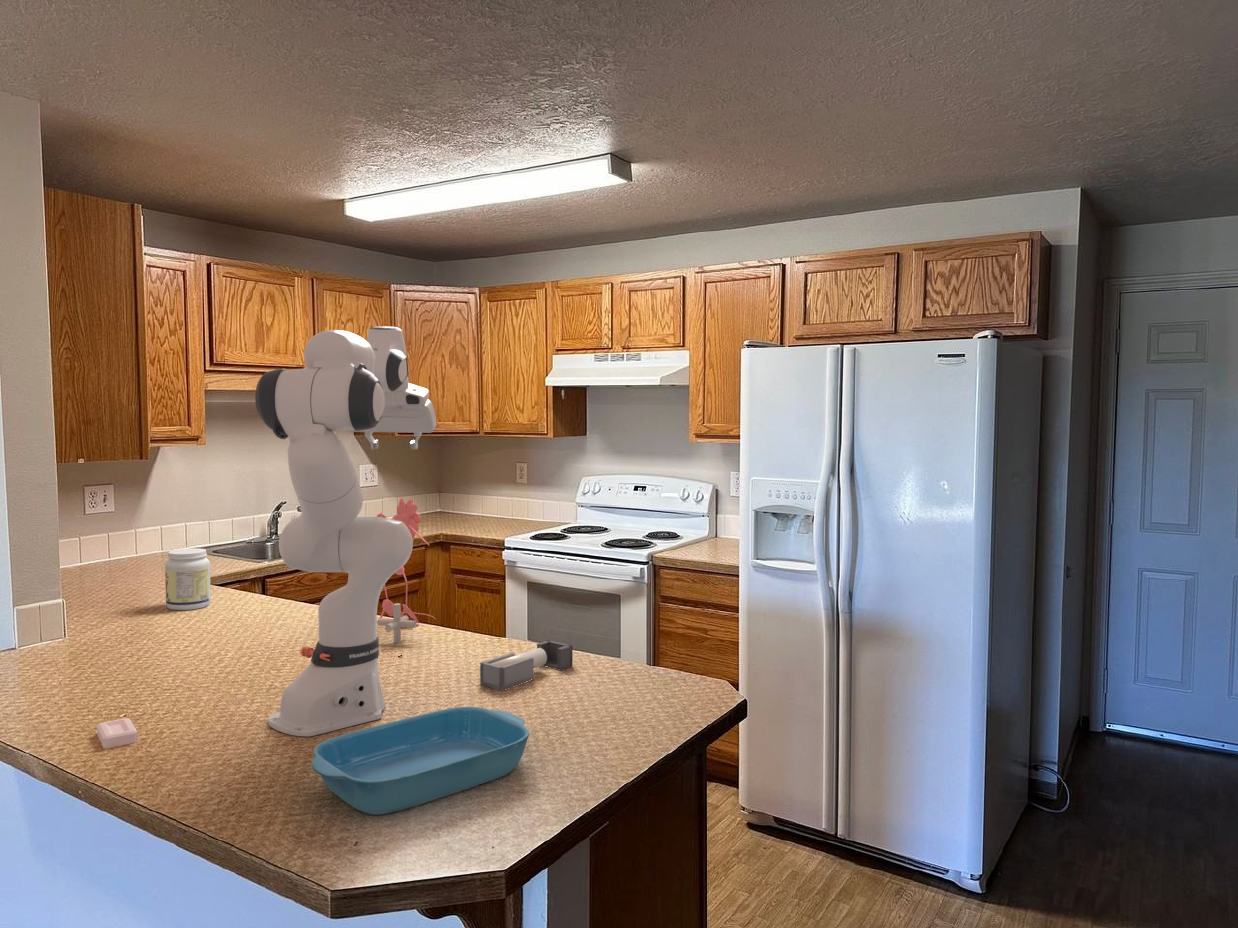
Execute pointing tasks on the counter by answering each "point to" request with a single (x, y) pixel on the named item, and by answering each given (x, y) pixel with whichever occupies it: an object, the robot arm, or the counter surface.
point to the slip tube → (537, 654)
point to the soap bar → (116, 733)
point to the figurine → (411, 520)
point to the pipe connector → (397, 623)
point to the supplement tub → (187, 579)
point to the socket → (557, 654)
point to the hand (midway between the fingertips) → (394, 448)
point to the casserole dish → (420, 757)
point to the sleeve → (506, 673)
